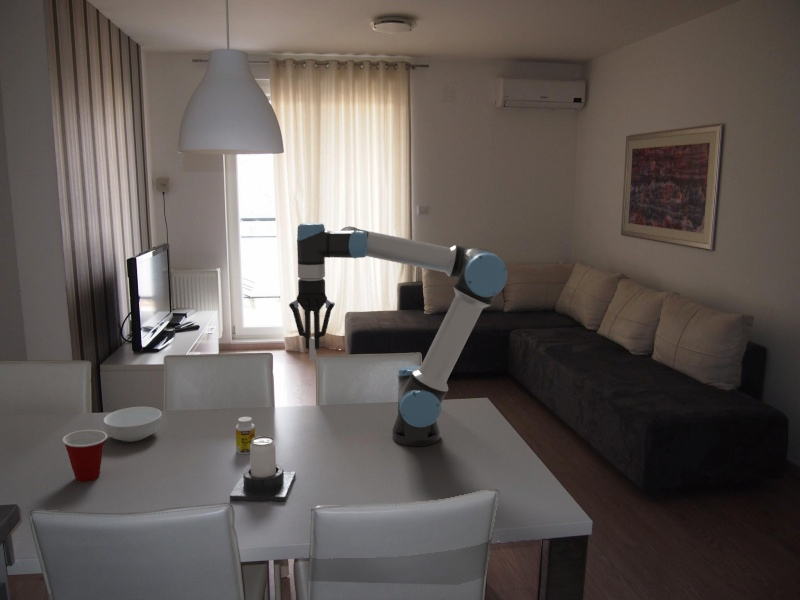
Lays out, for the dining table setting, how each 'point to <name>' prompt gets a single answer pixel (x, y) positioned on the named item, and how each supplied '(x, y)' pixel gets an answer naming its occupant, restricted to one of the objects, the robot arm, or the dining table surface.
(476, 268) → the robot arm
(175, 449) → the dining table surface
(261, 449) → the can
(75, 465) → the plastic cup
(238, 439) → the supplement bottle
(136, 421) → the cereal bowl
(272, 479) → the socket
